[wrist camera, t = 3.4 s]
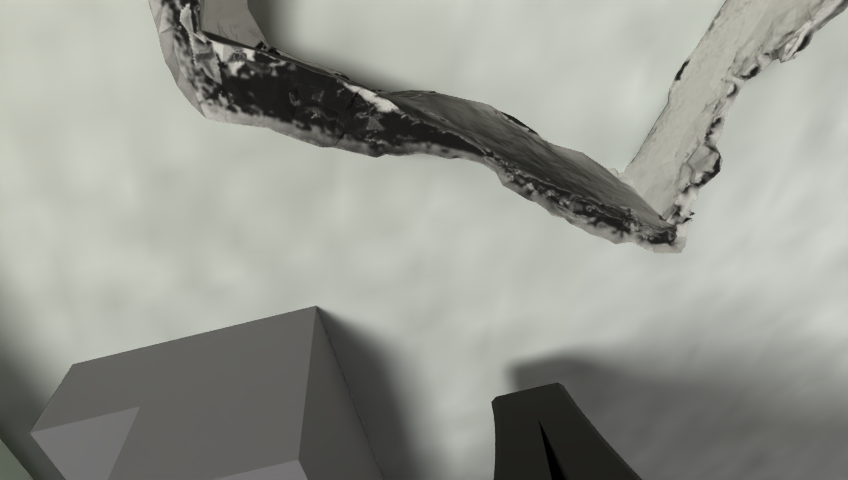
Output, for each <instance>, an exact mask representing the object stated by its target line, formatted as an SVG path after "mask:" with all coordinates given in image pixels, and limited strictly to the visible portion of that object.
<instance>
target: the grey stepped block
mask: <svg viewBox="0 0 848 480" xmlns="http://www.w3.org/2000/svg"><path fill="white" fill-rule="evenodd" d="M30 434H31V436H32V437H33V438H34V440H35V441H36V442H37V444H38V445H39V446H40V447H41V449H42V450H43V451H44V453H45V454H46V455H47V456H48V458H49V459H50V460H51V462H52V463H53V464H54V465H55V467H56V468H57V469H58V471H59V472H60V473H61V474H62V476H63V477H64V478H65V480H384V479H383V477H382V474H381V471H380V469H379V466H378V464H377V461H376V459H375V456H374V453H373V451H372V448H371V446H370V443H369V441H368V438H367V435H366V433H365V430H364V428H363V425H362V423H361V420H360V417H359V415H358V412H357V410H356V407H355V405H354V402H353V399H352V397H351V394H350V392H349V389H348V386H347V384H346V381H345V379H344V376H343V374H342V371H341V368H340V366H339V363H338V361H337V358H336V356H335V353H334V350H333V348H332V345H331V343H330V340H329V338H328V335H327V332H326V330H325V327H324V325H323V322H322V320H321V317H320V314H319V312H318V309H317V307H316V306H313V307H309V308H305V309H301V310H297V311H293V312H288V313H284V314H280V315H276V316H272V317H268V318H263V319H259V320H255V321H251V322H247V323H243V324H239V325H234V326H230V327H226V328H222V329H218V330H214V331H210V332H205V333H201V334H197V335H193V336H189V337H185V338H180V339H176V340H172V341H168V342H164V343H160V344H156V345H151V346H147V347H143V348H139V349H135V350H131V351H127V352H122V353H118V354H114V355H110V356H106V357H102V358H97V359H93V360H89V361H85V362H81V363H77V364H73V365H72V367H71V368H70V370H69V371H68V373H67V374H66V376H65V378H64V379H63V381H62V382H61V384H60V385H59V387H58V389H57V390H56V392H55V393H54V395H53V396H52V398H51V400H50V401H49V403H48V404H47V406H46V408H45V409H44V411H43V412H42V414H41V415H40V417H39V419H38V420H37V422H36V423H35V425H34V426H33V428H32V430H31V431H30Z"/></svg>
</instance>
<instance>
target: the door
mask: <svg viewBox="0 0 848 480" xmlns="http://www.w3.org/2000/svg"><path fill="white" fill-rule="evenodd" d="M0 480H33V478H32V477H31V476H30V475H29V474H28V472H27V471H26V470H25V469H24V467H23V466H22V465H21V464H20V463H19V461H18V460H17V459H16V458H15V456H14V455H13V454H12V453H11V451H10V450H9V449H8V448H7V447H6V445H5V444H4V443H3V442H2V440H1V439H0Z"/></svg>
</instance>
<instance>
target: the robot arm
mask: <svg viewBox="0 0 848 480" xmlns="http://www.w3.org/2000/svg"><path fill="white" fill-rule="evenodd" d="M491 403H492V408H493V413H494V422H495V470H494V480H642V479H641V478H640V477H639V476H638V475H637V474H636V473H635V472H634V471H633V470H632V469H631V468H630V467H629V466H628V464H627V463H626V462H625V461H624V460H623V459H622V458H621V457H620V456H619V455H618V454H617V453H616V452H615V450H614V449H613V448H612V447H611V446H610V445H609V444H608V443H607V442H606V440H605V439H604V438H603V437H602V436H601V435H600V434H599V432H598V431H597V430H596V429H595V428H594V426H593V425H592V424H591V423H590V421H589V420H588V419H587V418H586V417H585V415H584V414H583V413H582V411H581V410H580V409H579V407H578V406H577V405H576V403H575V402H574V401H573V399H572V398H571V396H570V395H569V394H568V392H567V391H566V389H565V387H564V386H563V385H561V384H559V383H554V384H549V385H545V386H541V387H536V388H532V389H528V390H523V391H519V392H515V393H510V394H506V395H502V396H497V397H496V398H495V399H494V400H493V401H492V402H491Z"/></svg>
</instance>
